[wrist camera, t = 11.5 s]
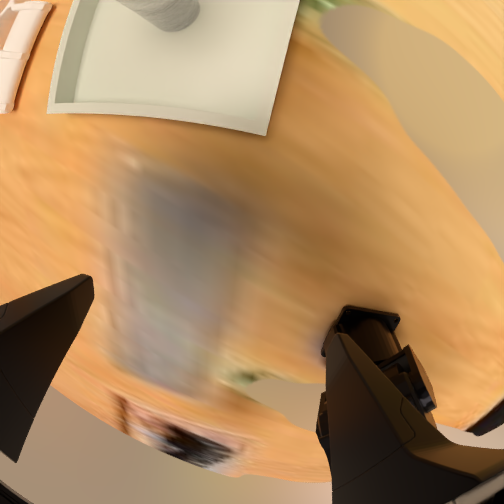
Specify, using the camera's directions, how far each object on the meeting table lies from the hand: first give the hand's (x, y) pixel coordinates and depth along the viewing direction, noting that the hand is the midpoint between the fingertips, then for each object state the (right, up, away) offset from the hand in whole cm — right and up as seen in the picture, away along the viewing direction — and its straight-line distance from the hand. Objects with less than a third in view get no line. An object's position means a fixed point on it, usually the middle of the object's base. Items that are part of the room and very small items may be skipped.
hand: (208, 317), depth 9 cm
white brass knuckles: (-26, +24, +5) cm, 36 cm away
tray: (-4, +20, +5) cm, 21 cm away
